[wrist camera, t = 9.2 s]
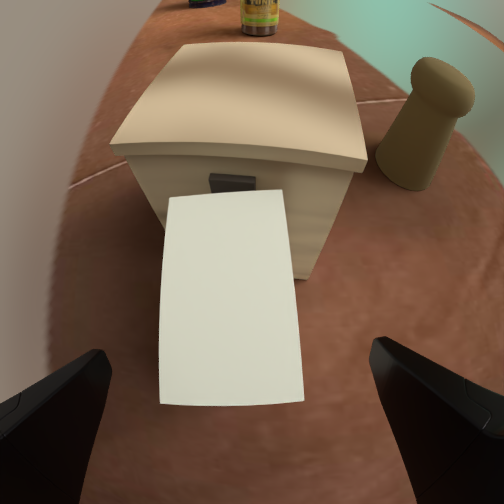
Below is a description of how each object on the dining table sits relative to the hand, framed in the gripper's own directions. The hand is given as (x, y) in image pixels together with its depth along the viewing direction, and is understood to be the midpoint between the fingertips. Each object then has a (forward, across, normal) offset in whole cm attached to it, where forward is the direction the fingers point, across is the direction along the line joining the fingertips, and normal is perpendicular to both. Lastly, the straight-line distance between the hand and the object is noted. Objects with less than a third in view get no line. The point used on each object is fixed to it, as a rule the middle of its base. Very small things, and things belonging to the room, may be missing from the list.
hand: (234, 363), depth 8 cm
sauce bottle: (+39, -4, -29) cm, 49 cm away
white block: (+7, 0, +4) cm, 8 cm away
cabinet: (+13, -1, -2) cm, 13 cm away
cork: (+16, -15, -5) cm, 23 cm away
